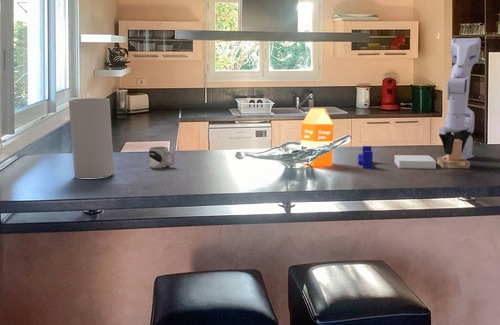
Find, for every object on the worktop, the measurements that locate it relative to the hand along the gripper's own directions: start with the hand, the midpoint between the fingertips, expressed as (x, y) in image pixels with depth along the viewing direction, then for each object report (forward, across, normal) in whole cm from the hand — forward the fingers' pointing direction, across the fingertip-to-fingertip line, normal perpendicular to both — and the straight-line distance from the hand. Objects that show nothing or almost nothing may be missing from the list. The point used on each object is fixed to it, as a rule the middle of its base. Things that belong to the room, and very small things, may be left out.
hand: (453, 153), depth 185 cm
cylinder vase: (+4, +106, -59) cm, 122 cm away
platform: (+4, +10, -8) cm, 14 cm away
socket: (+4, 0, 0) cm, 4 cm away
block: (+3, 0, 0) cm, 3 cm away
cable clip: (+5, +23, -19) cm, 30 cm away
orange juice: (+4, +36, -30) cm, 47 cm away
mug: (+4, +81, -60) cm, 101 cm away
